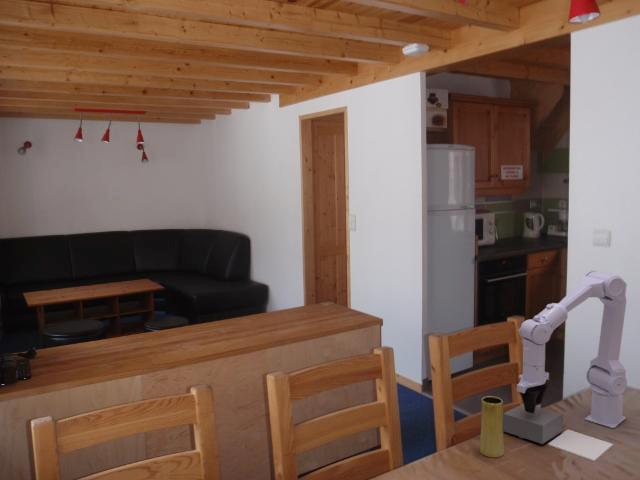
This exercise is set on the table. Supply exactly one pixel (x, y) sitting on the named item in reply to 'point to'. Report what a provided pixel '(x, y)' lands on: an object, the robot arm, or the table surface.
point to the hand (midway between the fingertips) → (532, 410)
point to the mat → (580, 445)
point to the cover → (533, 423)
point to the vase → (492, 427)
